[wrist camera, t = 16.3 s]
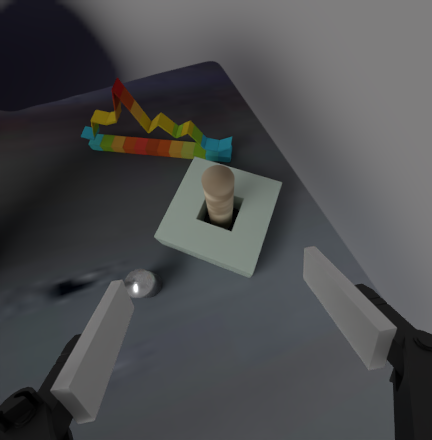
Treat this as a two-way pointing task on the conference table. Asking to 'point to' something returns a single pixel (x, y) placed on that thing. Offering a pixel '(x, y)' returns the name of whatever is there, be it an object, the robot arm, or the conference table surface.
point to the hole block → (215, 236)
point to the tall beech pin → (219, 194)
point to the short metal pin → (143, 284)
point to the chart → (146, 146)
